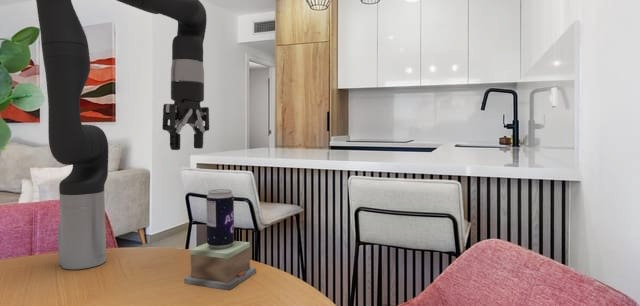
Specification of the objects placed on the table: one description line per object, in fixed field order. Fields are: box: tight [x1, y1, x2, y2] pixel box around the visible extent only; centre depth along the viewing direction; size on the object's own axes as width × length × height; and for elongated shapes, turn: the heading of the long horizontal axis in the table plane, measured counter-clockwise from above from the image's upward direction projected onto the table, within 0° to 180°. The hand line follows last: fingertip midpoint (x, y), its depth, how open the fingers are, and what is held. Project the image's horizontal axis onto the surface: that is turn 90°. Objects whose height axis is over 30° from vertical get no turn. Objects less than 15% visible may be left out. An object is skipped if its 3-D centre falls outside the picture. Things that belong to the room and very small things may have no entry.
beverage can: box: [205, 188, 235, 249], centre depth 88 cm, size 6×6×12 cm
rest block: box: [183, 240, 257, 291], centre depth 88 cm, size 11×11×7 cm
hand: (187, 149), depth 97 cm, fingers open, 8 cm apart
